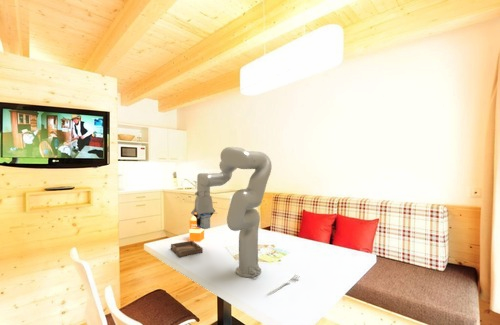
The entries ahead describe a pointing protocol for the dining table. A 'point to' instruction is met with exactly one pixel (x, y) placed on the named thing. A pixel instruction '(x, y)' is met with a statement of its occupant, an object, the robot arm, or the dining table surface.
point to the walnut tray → (186, 248)
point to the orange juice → (195, 231)
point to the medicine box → (204, 221)
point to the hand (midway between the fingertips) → (203, 224)
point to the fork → (283, 285)
